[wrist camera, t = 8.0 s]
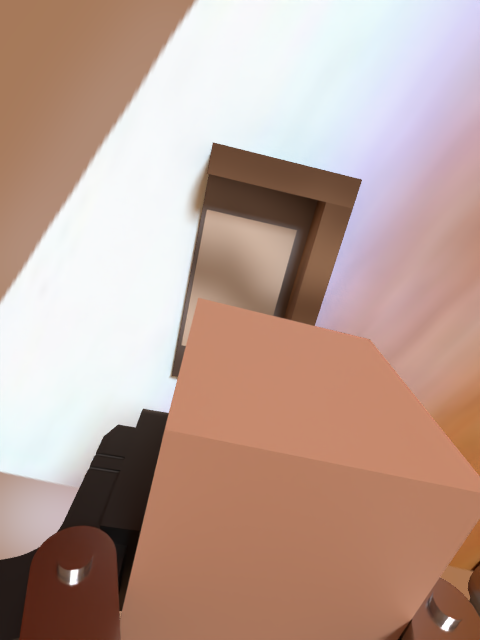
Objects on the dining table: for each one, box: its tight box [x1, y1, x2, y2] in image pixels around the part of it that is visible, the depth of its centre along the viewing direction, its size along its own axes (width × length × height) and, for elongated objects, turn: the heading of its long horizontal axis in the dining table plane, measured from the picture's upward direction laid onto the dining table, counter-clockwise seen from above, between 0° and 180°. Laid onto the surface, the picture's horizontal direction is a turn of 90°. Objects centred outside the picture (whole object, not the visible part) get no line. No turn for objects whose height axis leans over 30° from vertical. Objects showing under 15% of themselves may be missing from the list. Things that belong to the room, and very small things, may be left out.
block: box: [120, 298, 480, 640], centre depth 9 cm, size 4×8×5 cm, turn 165°
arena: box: [172, 143, 362, 377], centre depth 23 cm, size 15×8×2 cm, turn 167°
